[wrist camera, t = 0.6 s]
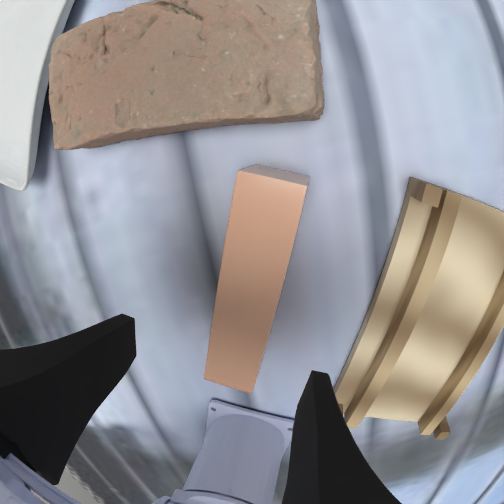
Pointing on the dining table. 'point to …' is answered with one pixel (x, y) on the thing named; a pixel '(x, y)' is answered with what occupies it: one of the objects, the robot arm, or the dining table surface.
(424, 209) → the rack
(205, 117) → the brick
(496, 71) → the dining table surface
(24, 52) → the salad plate
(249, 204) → the clay strip
